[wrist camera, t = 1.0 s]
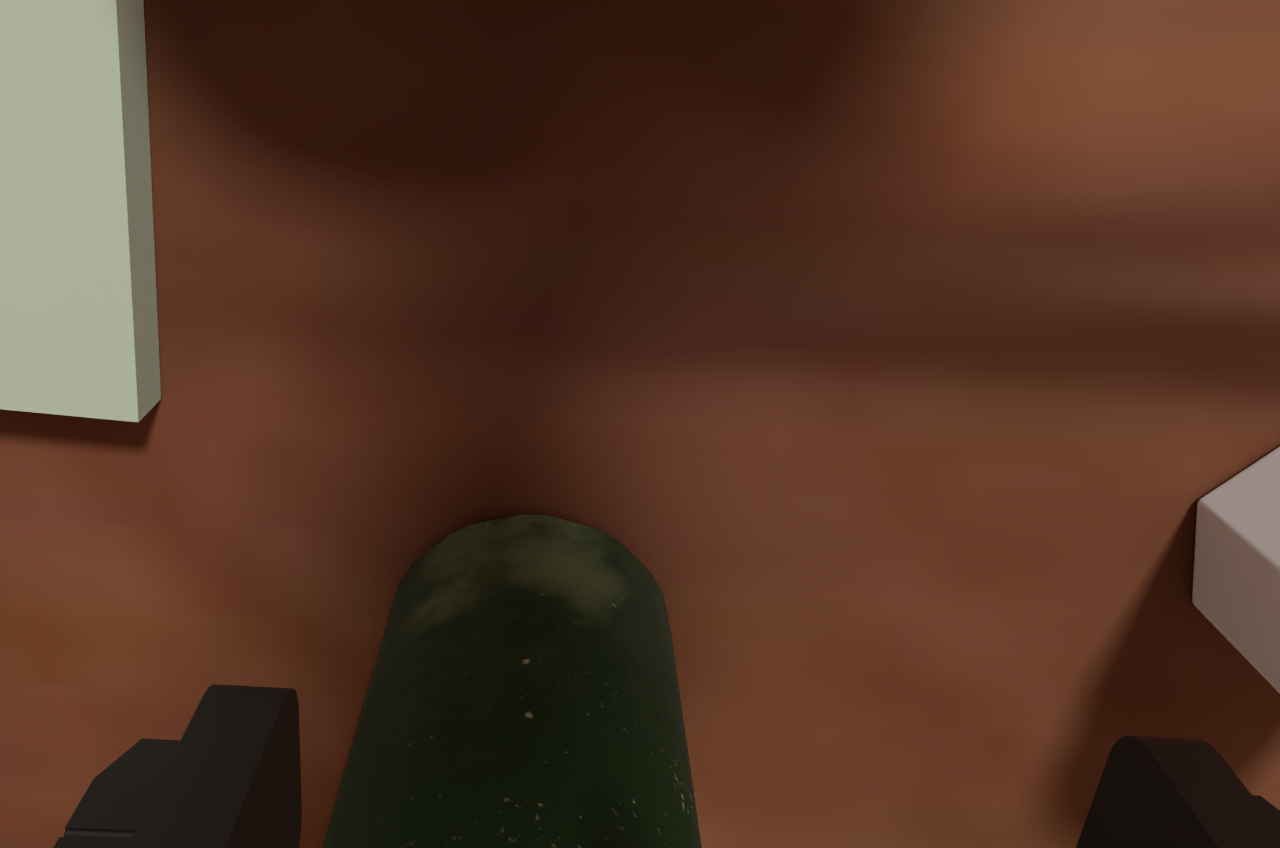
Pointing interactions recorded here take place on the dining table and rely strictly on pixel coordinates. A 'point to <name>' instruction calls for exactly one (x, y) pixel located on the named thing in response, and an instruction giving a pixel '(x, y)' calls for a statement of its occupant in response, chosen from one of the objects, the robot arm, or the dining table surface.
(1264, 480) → the jar
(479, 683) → the dark green tall piece
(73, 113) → the putting mat
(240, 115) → the dining table surface
